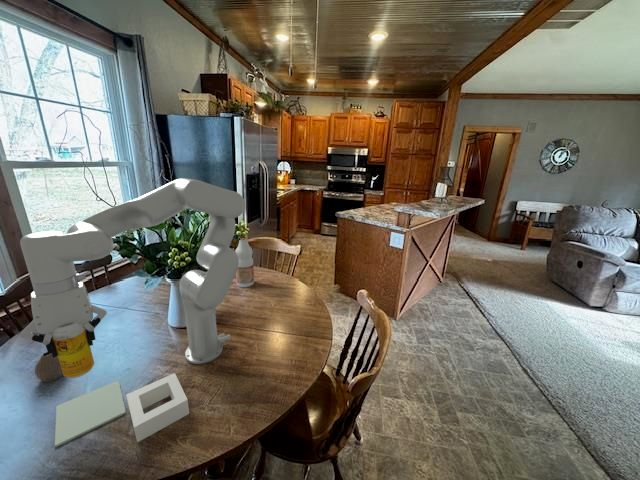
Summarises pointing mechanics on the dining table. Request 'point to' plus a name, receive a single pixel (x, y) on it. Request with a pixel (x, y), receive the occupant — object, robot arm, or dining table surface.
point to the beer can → (73, 350)
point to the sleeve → (161, 414)
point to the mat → (88, 412)
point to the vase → (48, 368)
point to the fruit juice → (245, 264)
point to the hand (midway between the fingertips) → (73, 347)
